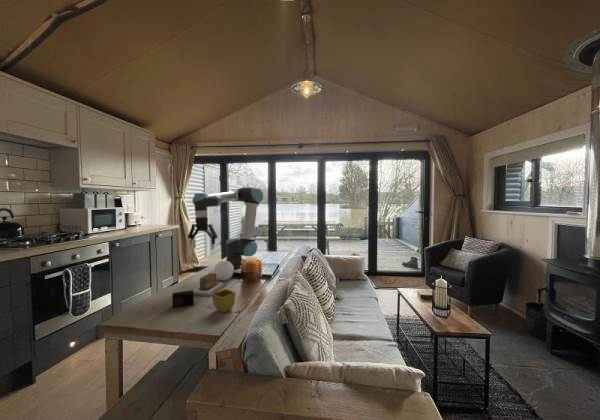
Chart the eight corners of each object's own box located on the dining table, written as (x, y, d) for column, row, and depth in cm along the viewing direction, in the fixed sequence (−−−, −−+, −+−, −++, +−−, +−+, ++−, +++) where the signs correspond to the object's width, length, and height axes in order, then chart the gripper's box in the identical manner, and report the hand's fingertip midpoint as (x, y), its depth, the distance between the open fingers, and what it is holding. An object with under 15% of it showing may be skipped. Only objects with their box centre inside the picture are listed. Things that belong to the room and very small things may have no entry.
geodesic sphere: (242, 271, 190) (233, 254, 193) (227, 276, 178) (217, 258, 182) (230, 280, 196) (222, 264, 200) (215, 286, 185) (206, 268, 188)
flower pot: (222, 315, 134) (221, 297, 134) (211, 311, 140) (211, 293, 139) (236, 309, 141) (236, 292, 141) (225, 305, 147) (225, 288, 146)
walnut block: (200, 291, 165) (199, 278, 165) (210, 285, 176) (210, 272, 175) (206, 291, 164) (206, 278, 164) (216, 285, 175) (216, 273, 174)
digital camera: (172, 309, 142) (171, 296, 142) (173, 305, 147) (172, 292, 147) (193, 306, 146) (193, 293, 146) (193, 302, 151) (193, 289, 151)
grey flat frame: (208, 283, 182) (208, 280, 181) (227, 285, 178) (227, 282, 178) (188, 294, 162) (188, 291, 162) (209, 296, 159) (209, 293, 159)
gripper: (180, 217, 177) (182, 249, 179) (215, 217, 171) (217, 250, 173) (188, 216, 184) (189, 247, 186) (221, 216, 179) (223, 248, 181)
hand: (203, 249), depth 180 cm, fingers open, 13 cm apart
